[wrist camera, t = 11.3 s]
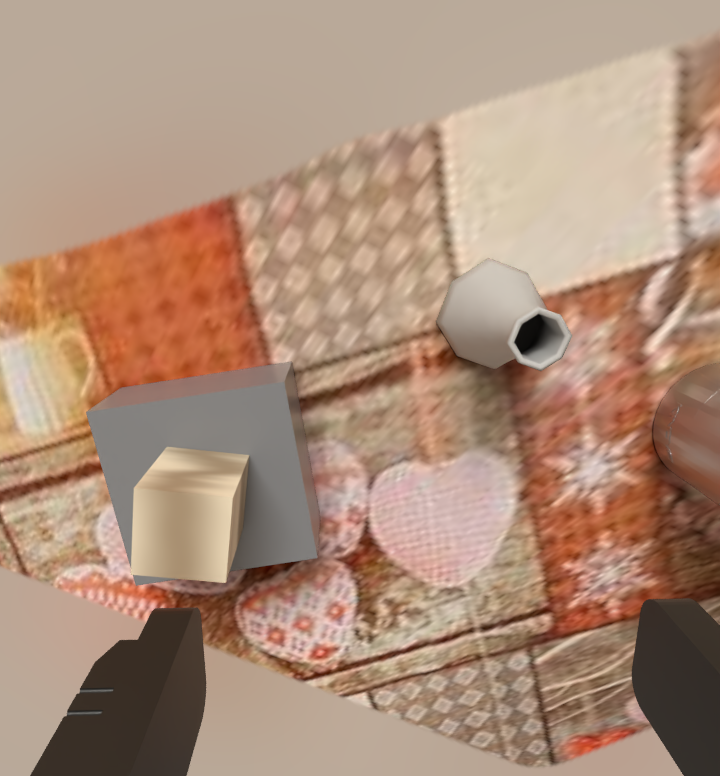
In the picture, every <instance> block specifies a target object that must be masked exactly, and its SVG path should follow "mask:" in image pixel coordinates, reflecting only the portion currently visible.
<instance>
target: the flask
mask: <svg viewBox="0 0 720 776" xmlns="http://www.w3.org/2000/svg"><path fill="white" fill-rule="evenodd" d="M436 323H437V324H438V326H439V328H440V329H441V331H442V333H443V334H444V336H445V337H446V339H447V341H448V342H449V344H450V346H451V347H452V349H453V350H454V352H455V354H456V355H457V356H459V357H461V358H464V359H467V360H470V361H472V362H475V363H478V364H481V365H483V366H486V367H489V368H492V369H496V368H498V367H500V366H502V365H503V364H505V363H507V362H509V361H511V360H513V359H516V360H517V362H518V363H520V364H523V365H526V366H529V367H531V368H534V369H537V370H540V371H542V370H543V369H545V368H547V367H548V366H550V365H552V364H553V363H555V362H556V361H558V360H560V359H561V358H562V357H563V355H564V353H565V350H566V348H567V346H568V344H569V342H570V339H571V337H572V334H571V333H570V331H569V329H568V327H567V325H566V324H565V322H564V320H563V318H562V316H561V315H559V314H556V313H554V312H551V311H549V310H547V308H546V306H545V304H544V302H543V300H542V299H541V297H540V295H539V293H538V291H537V290H536V288H535V286H534V284H533V282H532V281H531V279H530V277H529V275H528V273H526V272H524V271H521V270H518V269H516V268H513V267H511V266H508V265H506V264H503V263H500V262H498V261H495V260H493V259H490V258H488V259H486V260H484V261H483V262H481V263H480V264H478V265H477V266H475V267H474V268H472V269H471V270H469V271H467V272H466V273H464V274H463V275H461V276H460V277H458V278H457V279H455V280H454V281H452V282H451V285H450V287H449V290H448V292H447V295H446V297H445V300H444V302H443V305H442V307H441V310H440V312H439V315H438V317H437V320H436Z"/></svg>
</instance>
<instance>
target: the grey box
mask: <svg viewBox="0 0 720 776" xmlns="http://www.w3.org/2000/svg"><path fill="white" fill-rule="evenodd" d="M86 414H87V417H88V421H89V424H90V427H91V431H92V434H93V438H94V441H95V445H96V448H97V452H98V455H99V459H100V462H101V466H102V469H103V473H104V476H105V480H106V483H107V487H108V490H109V494H110V497H111V501H112V504H113V508H114V511H115V514H116V518H117V521H118V525H119V528H120V532H121V535H122V539H123V542H124V546H125V549H126V553H127V556H128V560H129V563H130V567H131V555H132V526H133V496H134V487H135V486H136V485H137V484H138V482H139V481H140V480H141V479H142V477H143V476H144V475H145V474H146V472H147V471H148V470H149V468H150V467H151V466H152V465H153V463H154V462H155V461H156V460H157V458H158V457H159V456H160V455H161V453H162V452H163V451H164V450H165V448H166V447H176V448H186V449H195V450H205V451H215V452H224V453H234V454H243V455H249V465H248V477H247V488H246V500H245V511H244V523H243V530H242V533H241V536H240V539H239V543H238V546H237V549H236V552H235V555H234V559H233V562H232V565H231V568H230V571H235V570H242V569H248V568H255V567H262V566H268V565H275V564H281V563H288V562H295V561H301V560H308V559H314V558H318V544H319V529H320V512H319V507H318V501H317V496H316V490H315V485H314V479H313V474H312V468H311V463H310V458H309V452H308V447H307V441H306V436H305V430H304V425H303V419H302V414H301V409H300V403H299V398H298V392H297V387H296V381H295V376H294V370H293V365H292V362H286V363H279V364H273V365H266V366H260V367H253V368H247V369H240V370H234V371H227V372H221V373H214V374H208V375H201V376H195V377H188V378H182V379H175V380H168V381H162V382H155V383H149V384H142V385H136V386H129V387H123V388H120V389H119V390H117V391H116V392H114V393H113V394H111V395H110V396H108V397H107V398H106V399H104V400H103V401H101V402H100V403H98V404H97V405H96V406H94V407H93V408H91V409H90V410H88V411H87V412H86ZM133 577H134V581H135V584H136V585H143V584H149V583H156V582H163V581H169V580H176V579H175V578H163V577H152V576H140V575H133Z"/></svg>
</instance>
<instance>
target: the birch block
mask: <svg viewBox="0 0 720 776" xmlns="http://www.w3.org/2000/svg"><path fill="white" fill-rule="evenodd" d="M248 465H249V455H243V454H234V453H224V452H215V451H205V450H195V449H186V448H176V447H166V448H165V450H164V451H163V452H162V453H161V455H160V456H159V457H158V458H157V460H156V461H155V462H154V463H153V465H152V466H151V467H150V468H149V470H148V471H147V472H146V474H145V475H144V476H143V477H142V479H141V480H140V481H139V482H138V484H137V485H136V486H135V487H134V496H133V526H132V555H131V575H140V576H152V577H163V578H175V579H186V580H198V581H209V582H221V583H226V581H227V578H228V575H229V571H230V568H231V565H232V562H233V559H234V555H235V552H236V549H237V546H238V543H239V539H240V536H241V533H242V530H243V523H244V511H245V500H246V488H247V477H248Z"/></svg>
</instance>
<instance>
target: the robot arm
mask: <svg viewBox="0 0 720 776" xmlns="http://www.w3.org/2000/svg"><path fill="white" fill-rule="evenodd" d="M653 439H654V444H655V449H656V451H657V453H658V455H659V457H660V459H661V461H662V462H663V463H664V464H665V466H666V467H667V468H668V469H669V470H671V471H672V472H673V473H675V474H676V475H678V476H679V477H680V478H682V479H683V480H685V481H686V482H687V483H689V484H690V485H692V486H693V487H694V488H696V489H697V490H699V491H700V492H701V493H703V494H704V495H705V496H707V497H708V498H710V499H711V500H712V501H714V502H715V503H717V504H718V505H720V363H715V364H710V365H706V366H703V367H701V368H699V369H696V370H694V371H692V372H690V373H689V374H687V375H686V376H684V377H683V378H681V379H680V380H679V381H678V382H677V383H676V384H675V385H674V386H673V387H672V388H671V389H670V390H669V391H668V393H667V394H666V395H665V397H664V398H663V400H662V402H661V404H660V406H659V408H658V410H657V413H656V417H655V421H654V425H653ZM632 683H633V688H634V692H635V696H636V699H637V701H638V704H639V706H640V708H641V710H642V711H643V713H644V715H645V716H646V718H647V719H648V721H649V722H650V724H651V725H652V727H653V729H654V730H655V732H656V733H657V734H658V736H659V738H660V739H661V741H662V742H663V744H664V746H665V747H666V749H667V750H668V752H669V753H670V755H671V756H672V758H673V760H674V761H675V763H676V764H677V766H678V767H679V769H680V770H681V772H682V774H683V775H684V776H720V625H719V624H718V623H717V622H716V621H715V620H714V619H713V618H712V617H711V616H710V615H709V614H708V613H707V612H706V611H705V610H704V609H703V608H702V607H701V606H700V605H699V604H698V603H697V602H696V601H694V600H692V599H648V600H646V601H645V602H644V603H643V605H642V608H641V612H640V619H639V626H638V632H637V639H636V646H635V653H634V659H633V666H632ZM205 697H206V673H205V662H204V648H203V636H202V623H201V614H200V611H199V609H198V608H157V609H154V610H153V611H152V613H151V614H150V616H149V618H148V621H147V623H146V625H145V627H144V629H143V631H142V633H141V635H140V637H139V639H138V640H120V641H118V643H116V644H115V645H114V646H113V647H112V648H111V649H110V650H108V651H107V652H106V653H105V654H104V655H103V656H102V657H101V658H99V659H98V660H97V661H96V662H95V663H94V665H93V667H92V669H91V671H90V672H89V674H88V676H87V677H86V679H85V681H84V683H83V685H82V686H81V688H80V693H79V694H77V695H76V697H75V699H74V700H73V702H72V704H71V705H70V707H69V709H68V711H67V716H65V717H64V718H63V719H62V721H61V723H60V725H59V726H58V728H57V730H56V732H55V734H54V735H53V737H52V739H51V740H50V742H49V744H48V746H47V747H46V749H45V751H44V753H43V754H42V756H41V758H40V760H39V761H38V763H37V765H36V767H35V768H34V770H33V772H32V774H31V775H30V776H186V775H187V772H188V768H189V764H190V761H191V757H192V754H193V750H194V747H195V743H196V740H197V736H198V733H199V729H200V726H201V722H202V718H203V712H204V706H205Z"/></svg>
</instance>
